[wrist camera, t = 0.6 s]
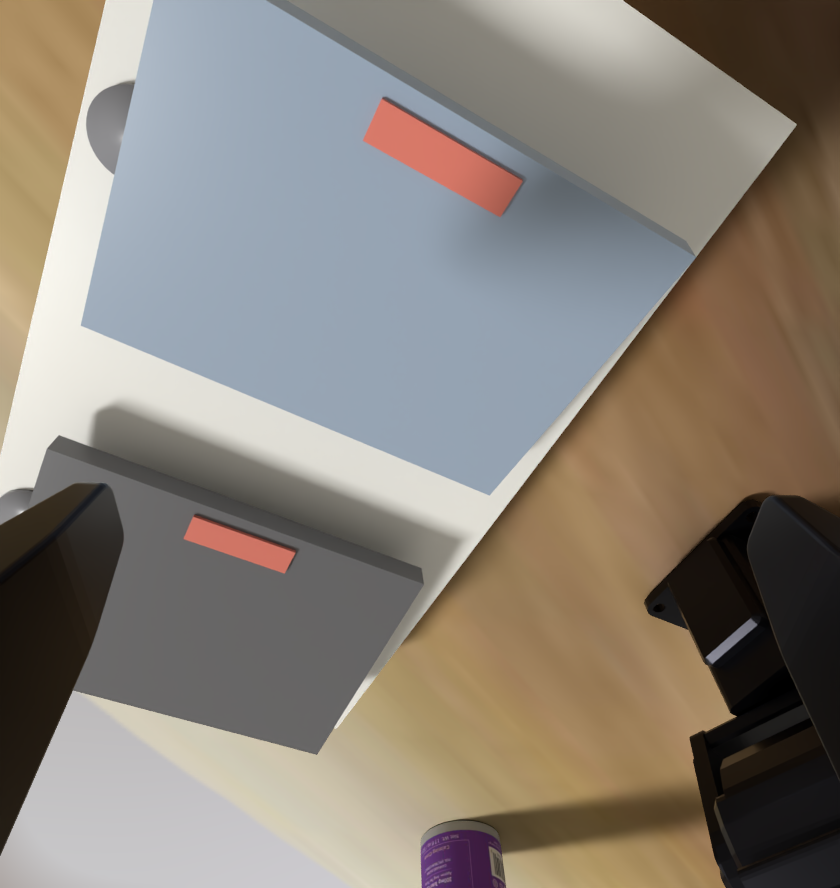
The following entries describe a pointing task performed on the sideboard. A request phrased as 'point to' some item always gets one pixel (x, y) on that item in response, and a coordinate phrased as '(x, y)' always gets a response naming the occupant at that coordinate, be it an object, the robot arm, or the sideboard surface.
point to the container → (462, 856)
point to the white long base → (482, 92)
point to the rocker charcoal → (230, 606)
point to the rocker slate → (359, 243)
